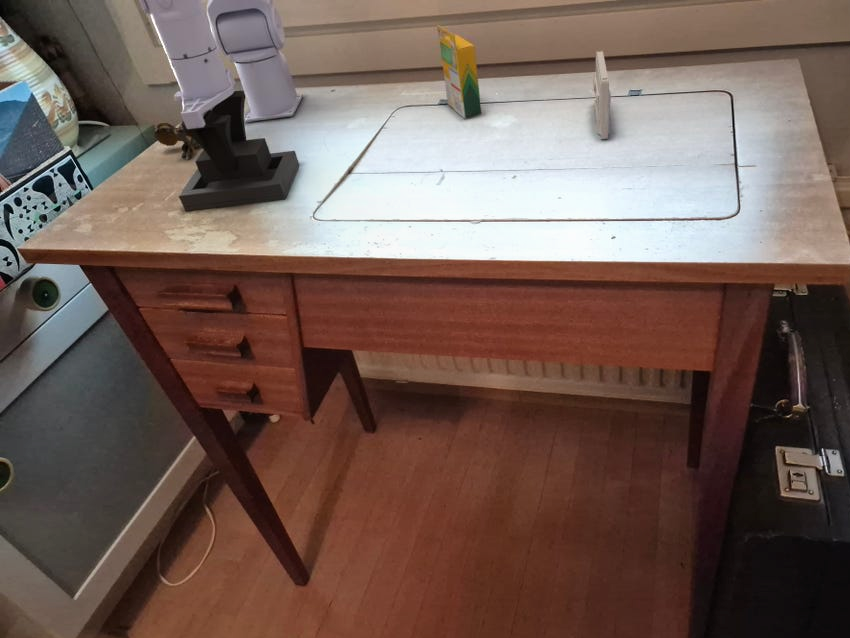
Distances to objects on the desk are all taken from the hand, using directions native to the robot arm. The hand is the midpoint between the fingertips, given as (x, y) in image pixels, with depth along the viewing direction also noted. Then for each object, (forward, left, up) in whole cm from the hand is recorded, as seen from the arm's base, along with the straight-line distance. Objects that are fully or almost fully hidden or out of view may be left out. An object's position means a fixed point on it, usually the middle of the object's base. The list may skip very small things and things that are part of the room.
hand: (234, 160), depth 86 cm
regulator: (-16, -10, -4) cm, 19 cm away
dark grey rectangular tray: (0, 0, -4) cm, 4 cm away
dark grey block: (0, 0, -1) cm, 1 cm away
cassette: (-7, +49, -4) cm, 50 cm away
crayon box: (-18, +30, -4) cm, 35 cm away
